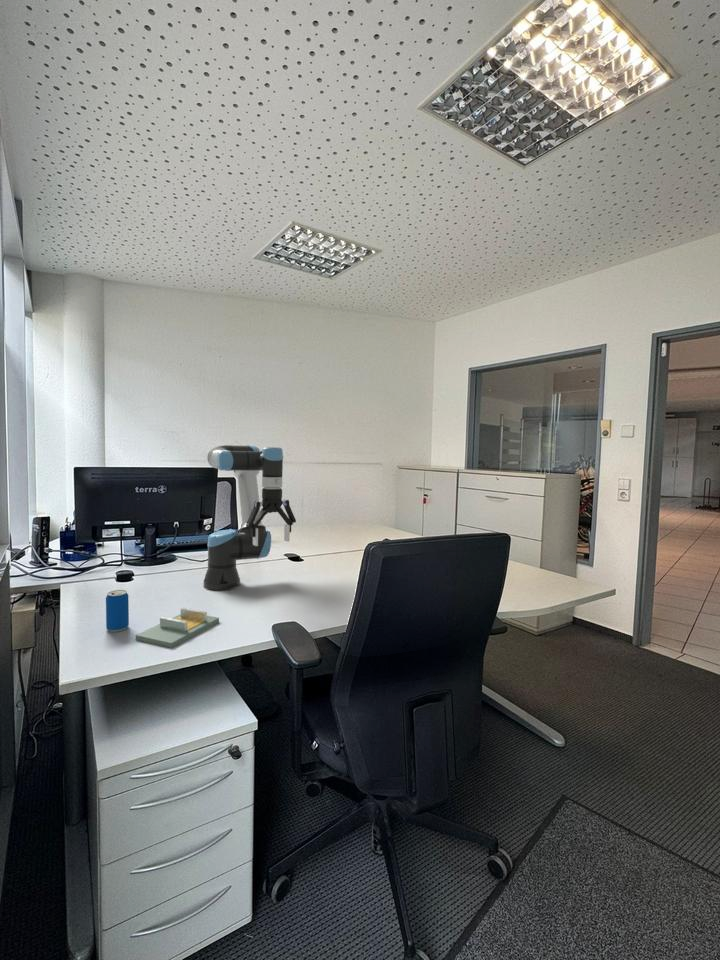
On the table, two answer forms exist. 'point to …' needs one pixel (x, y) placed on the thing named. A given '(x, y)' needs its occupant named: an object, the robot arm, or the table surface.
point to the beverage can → (117, 610)
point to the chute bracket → (184, 620)
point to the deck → (173, 633)
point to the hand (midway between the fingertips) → (271, 543)
